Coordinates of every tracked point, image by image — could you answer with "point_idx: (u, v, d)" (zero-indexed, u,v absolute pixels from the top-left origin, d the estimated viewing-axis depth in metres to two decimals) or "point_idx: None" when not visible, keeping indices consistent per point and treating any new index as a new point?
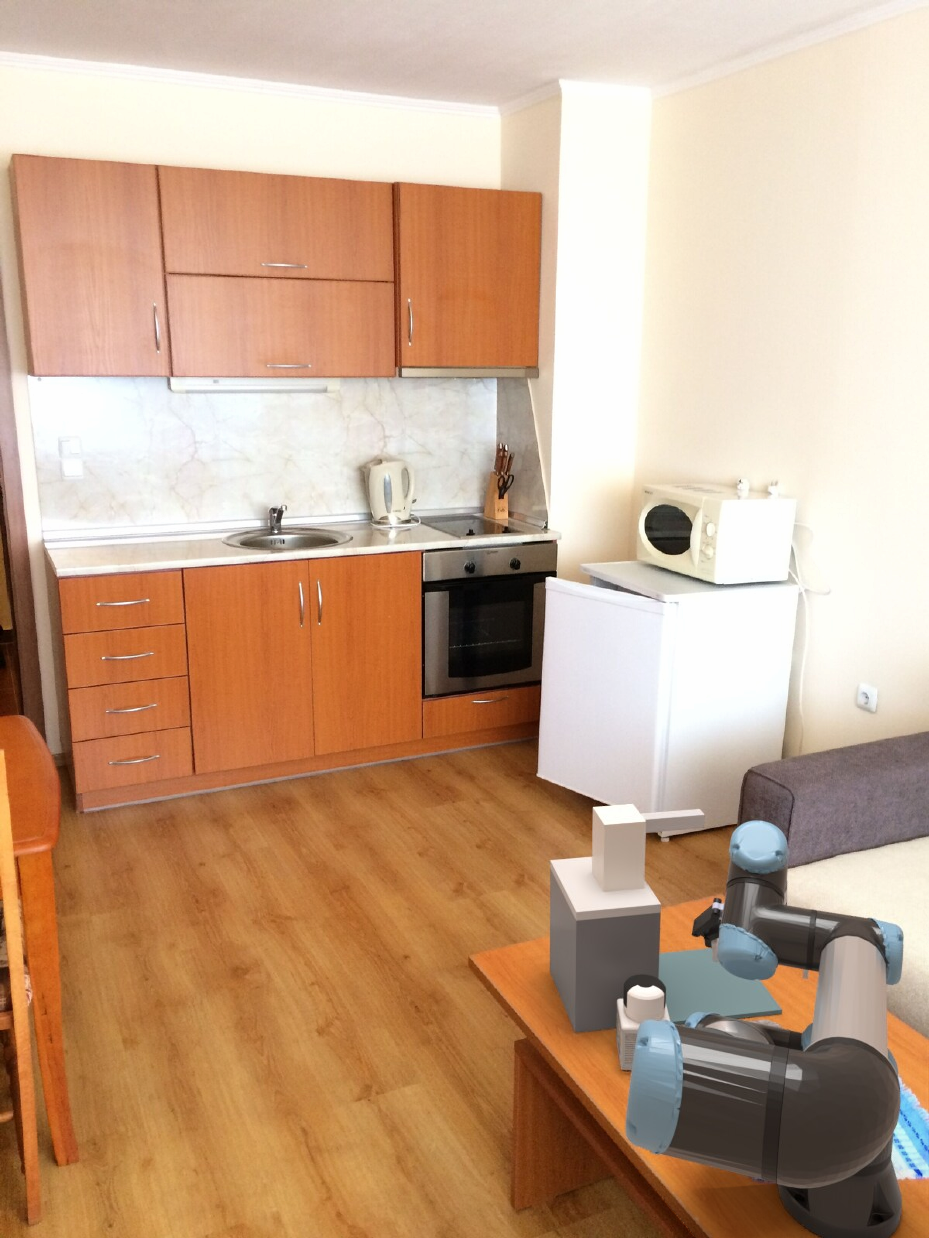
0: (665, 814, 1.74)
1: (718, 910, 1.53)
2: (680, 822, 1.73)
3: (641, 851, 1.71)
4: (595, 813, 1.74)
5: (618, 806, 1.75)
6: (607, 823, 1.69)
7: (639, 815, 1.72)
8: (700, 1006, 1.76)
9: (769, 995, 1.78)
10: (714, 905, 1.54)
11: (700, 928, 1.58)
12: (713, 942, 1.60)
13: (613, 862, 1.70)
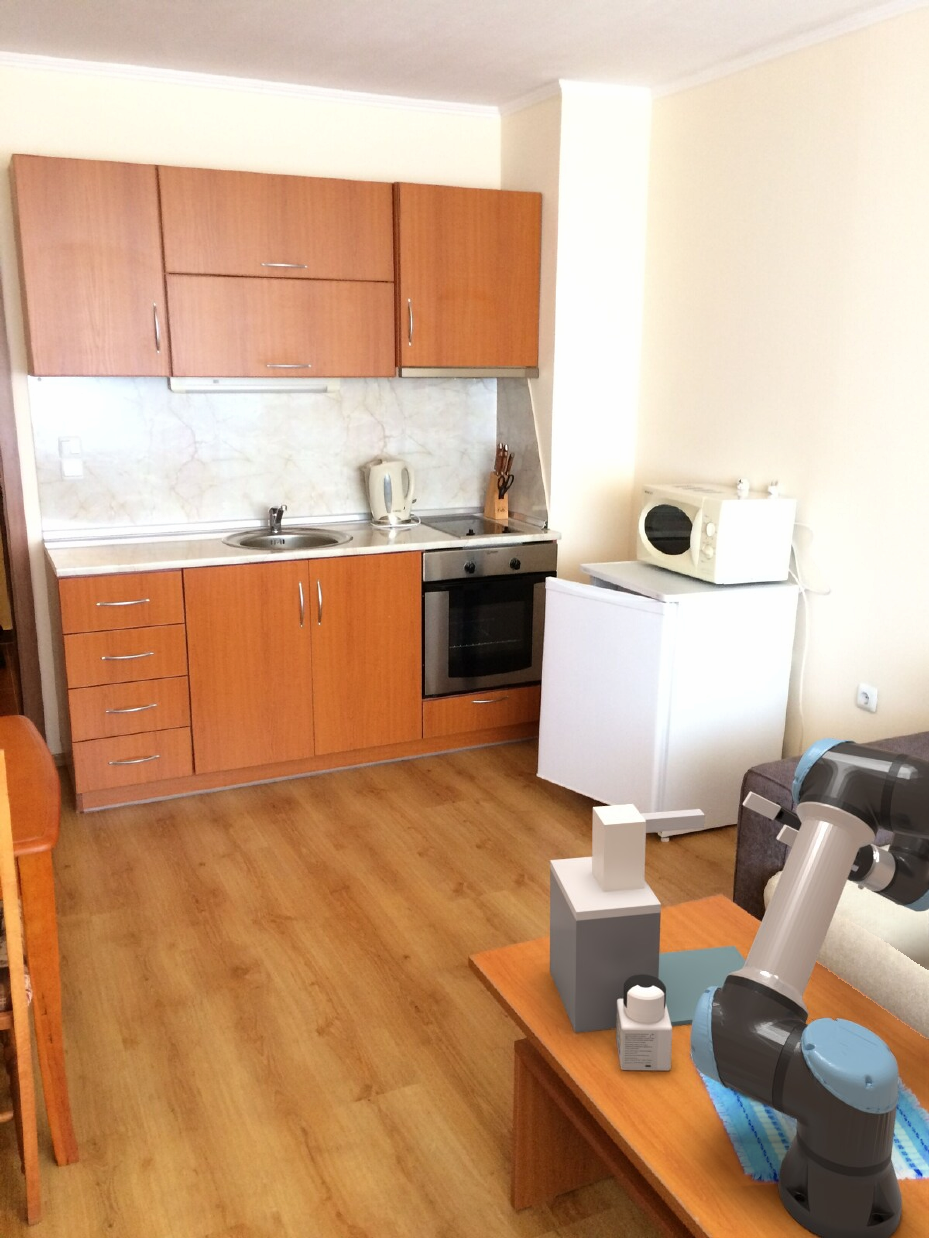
0: (665, 814, 1.74)
1: None
2: (680, 822, 1.73)
3: (641, 851, 1.71)
4: (595, 813, 1.74)
5: (618, 806, 1.75)
6: (607, 823, 1.69)
7: (639, 815, 1.72)
8: None
9: None
10: None
11: (792, 811, 1.87)
12: (780, 806, 1.84)
13: (613, 862, 1.70)
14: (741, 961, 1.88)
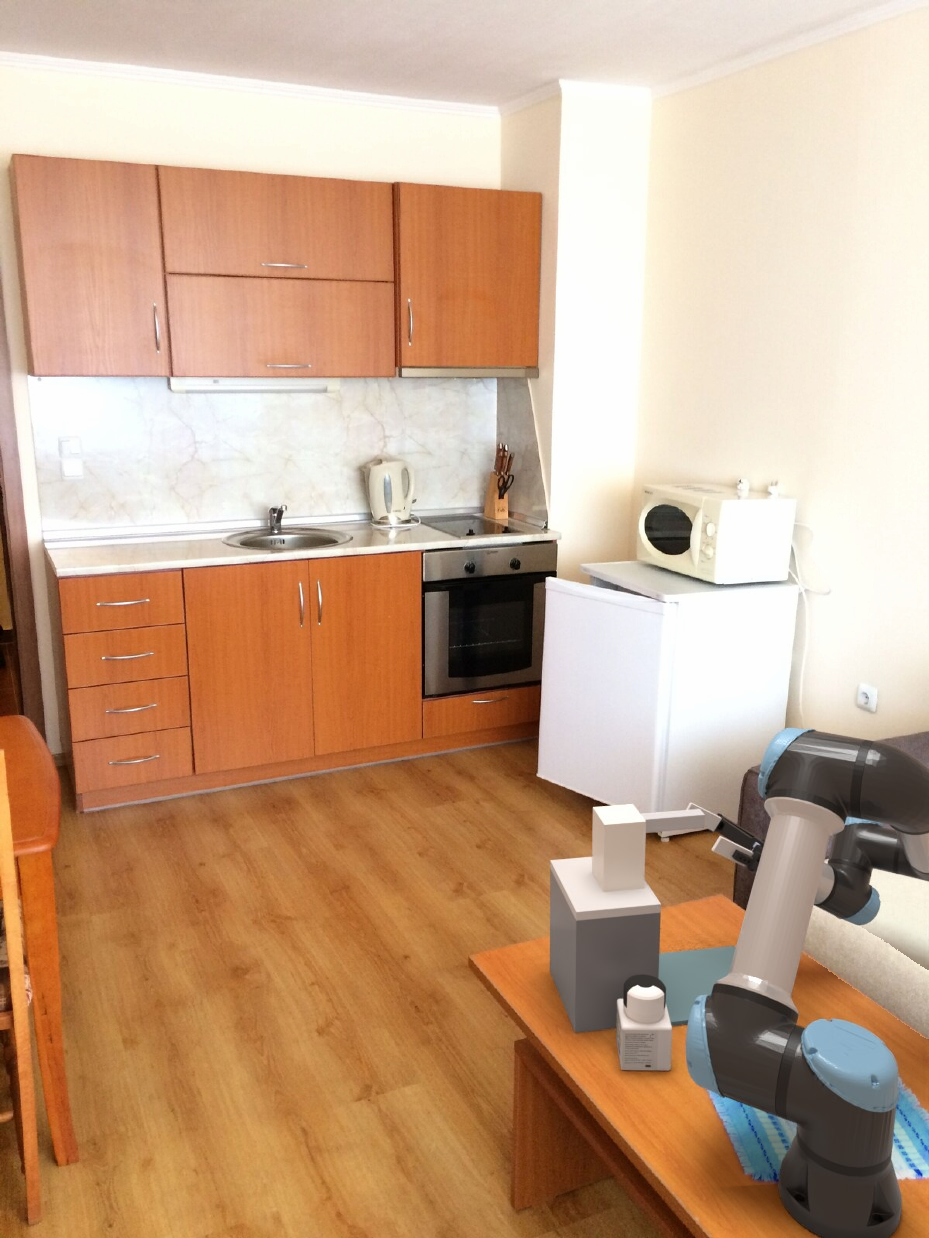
0: (665, 814, 1.74)
1: None
2: (680, 822, 1.73)
3: (641, 851, 1.71)
4: (595, 813, 1.74)
5: (618, 806, 1.75)
6: (607, 823, 1.69)
7: (639, 815, 1.72)
8: None
9: None
10: None
11: None
12: (720, 817, 1.84)
13: (613, 862, 1.70)
14: None
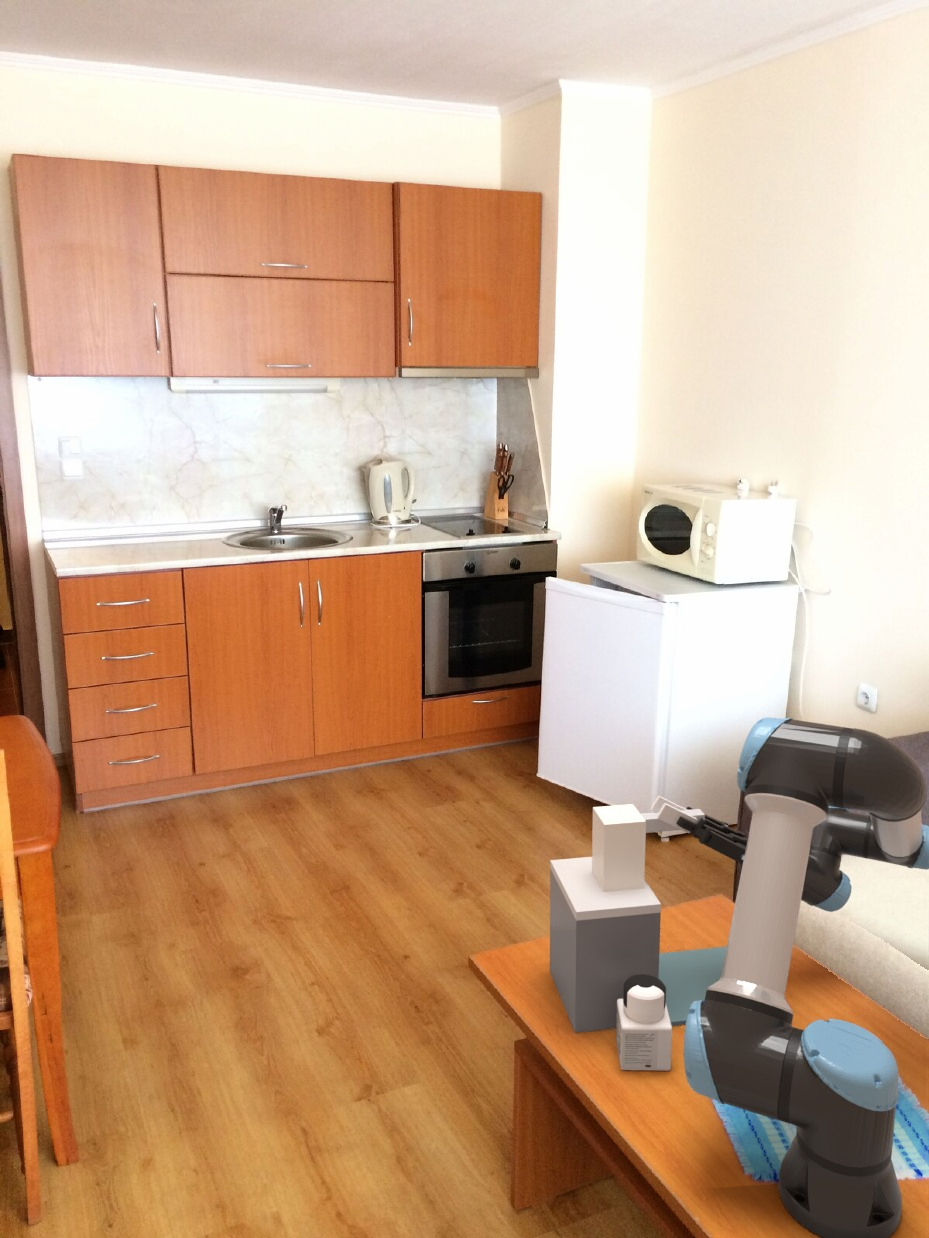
0: None
1: None
2: None
3: (641, 851, 1.71)
4: (595, 813, 1.74)
5: (618, 806, 1.75)
6: (607, 823, 1.69)
7: (639, 815, 1.72)
8: None
9: None
10: None
11: None
12: None
13: (613, 862, 1.70)
14: None
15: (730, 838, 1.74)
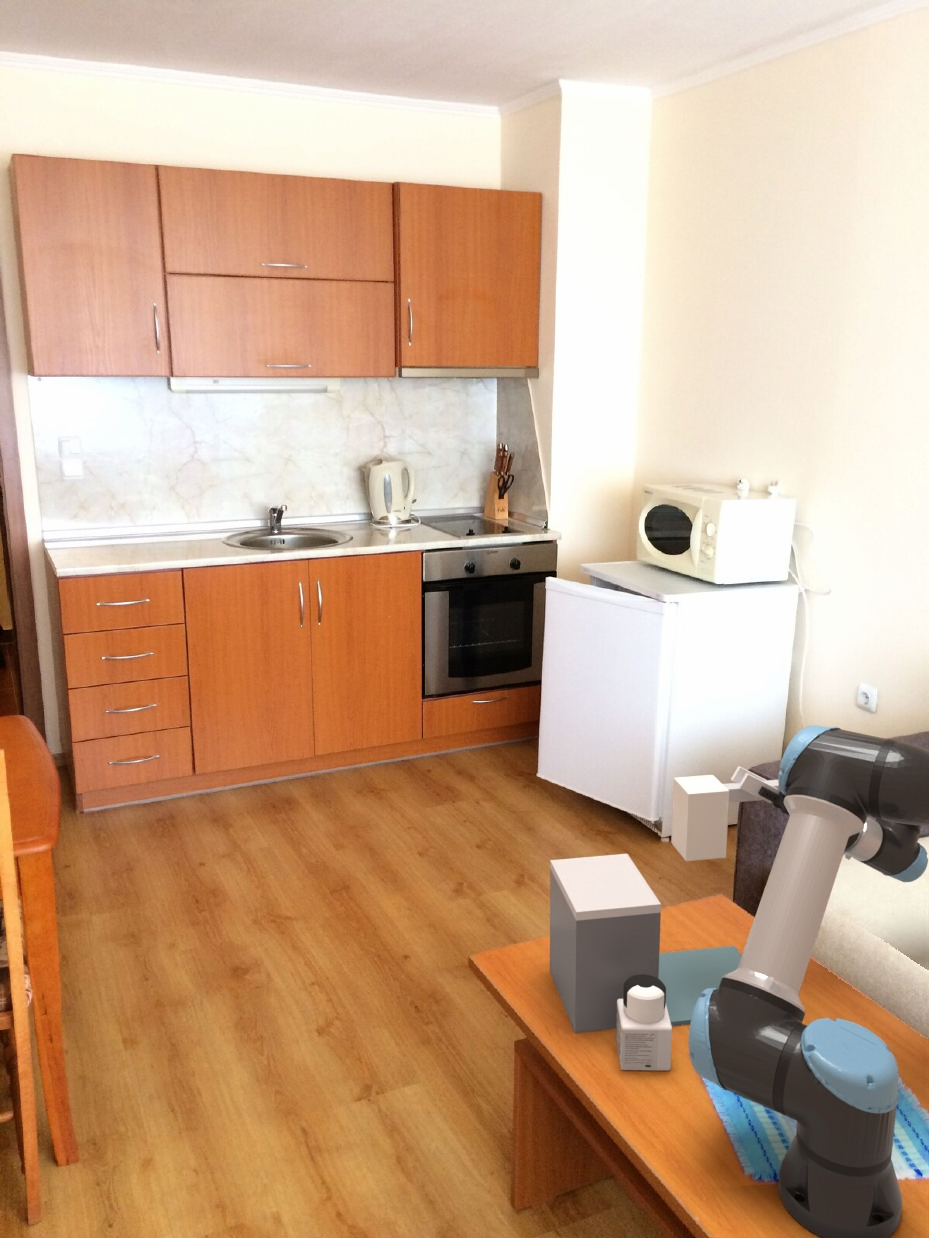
0: None
1: None
2: None
3: (724, 821, 1.72)
4: (676, 783, 1.75)
5: (699, 777, 1.77)
6: (691, 792, 1.70)
7: (721, 785, 1.73)
8: None
9: None
10: None
11: None
12: None
13: (696, 831, 1.72)
14: None
15: None
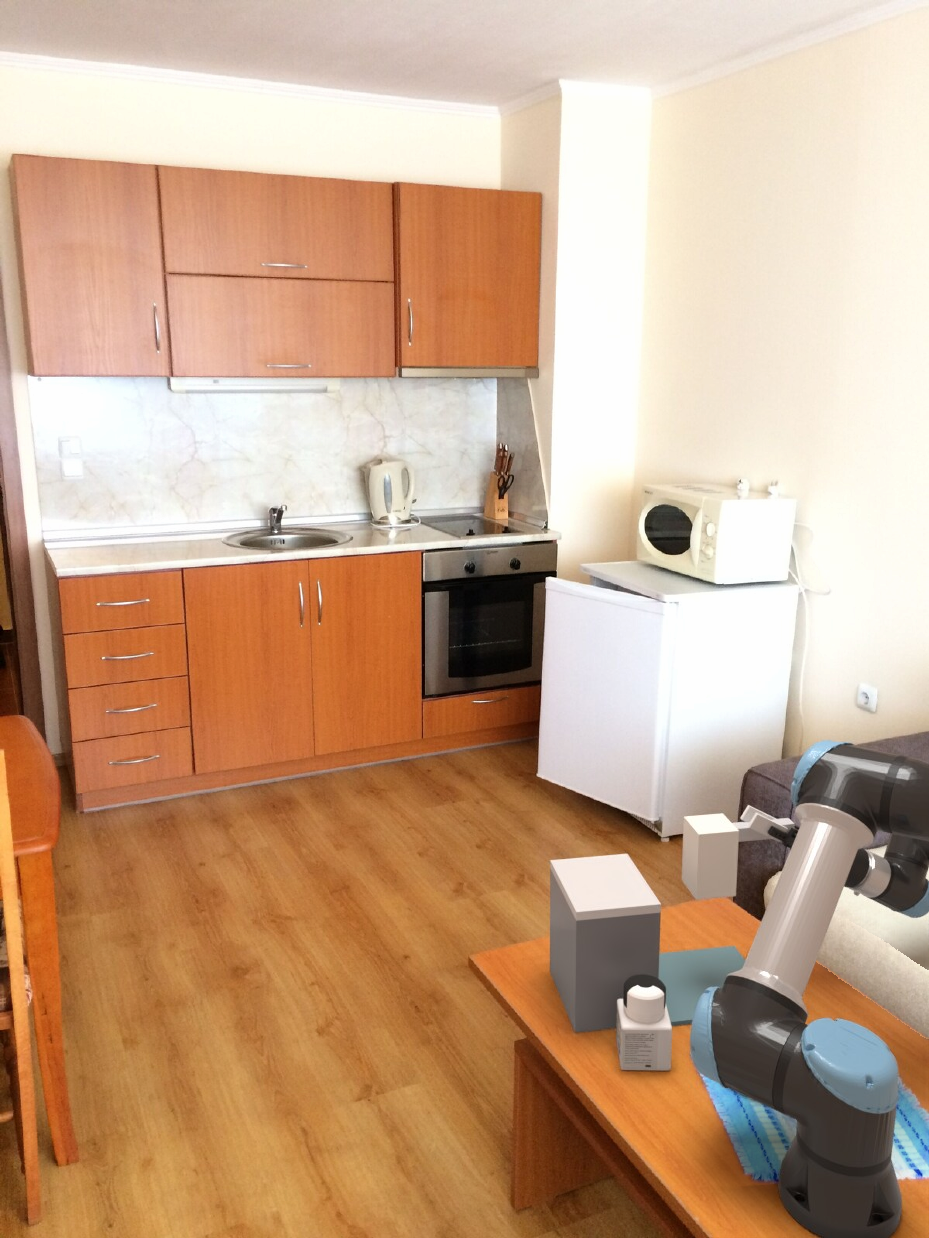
0: None
1: None
2: None
3: (734, 860, 1.74)
4: (687, 822, 1.77)
5: (708, 815, 1.79)
6: (701, 833, 1.72)
7: (731, 824, 1.75)
8: None
9: None
10: None
11: None
12: None
13: (706, 870, 1.74)
14: (741, 961, 1.88)
15: None
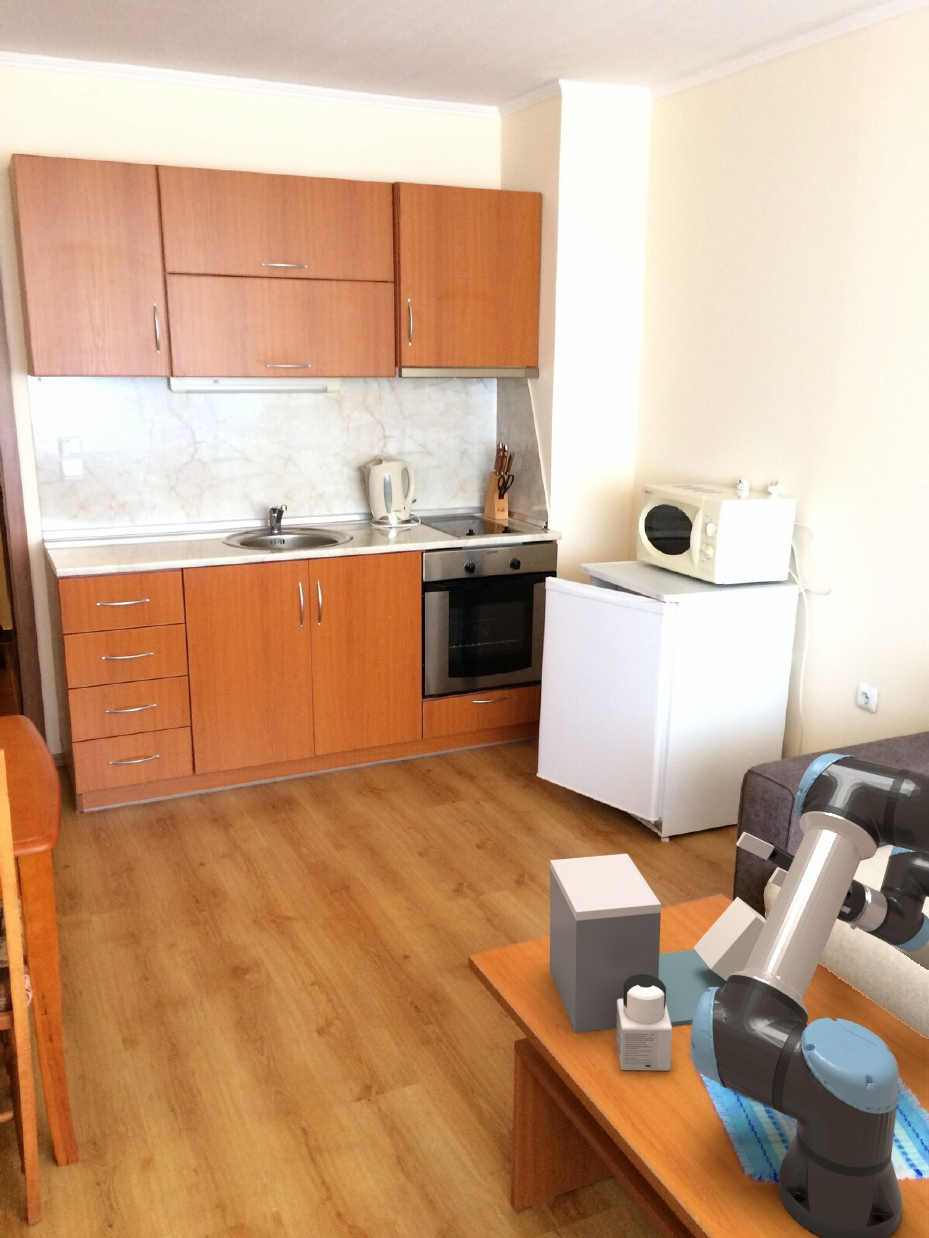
0: None
1: None
2: None
3: None
4: (740, 903, 1.83)
5: (754, 910, 1.85)
6: (757, 917, 1.78)
7: None
8: None
9: None
10: None
11: None
12: (773, 846, 1.86)
13: (736, 951, 1.78)
14: None
15: None
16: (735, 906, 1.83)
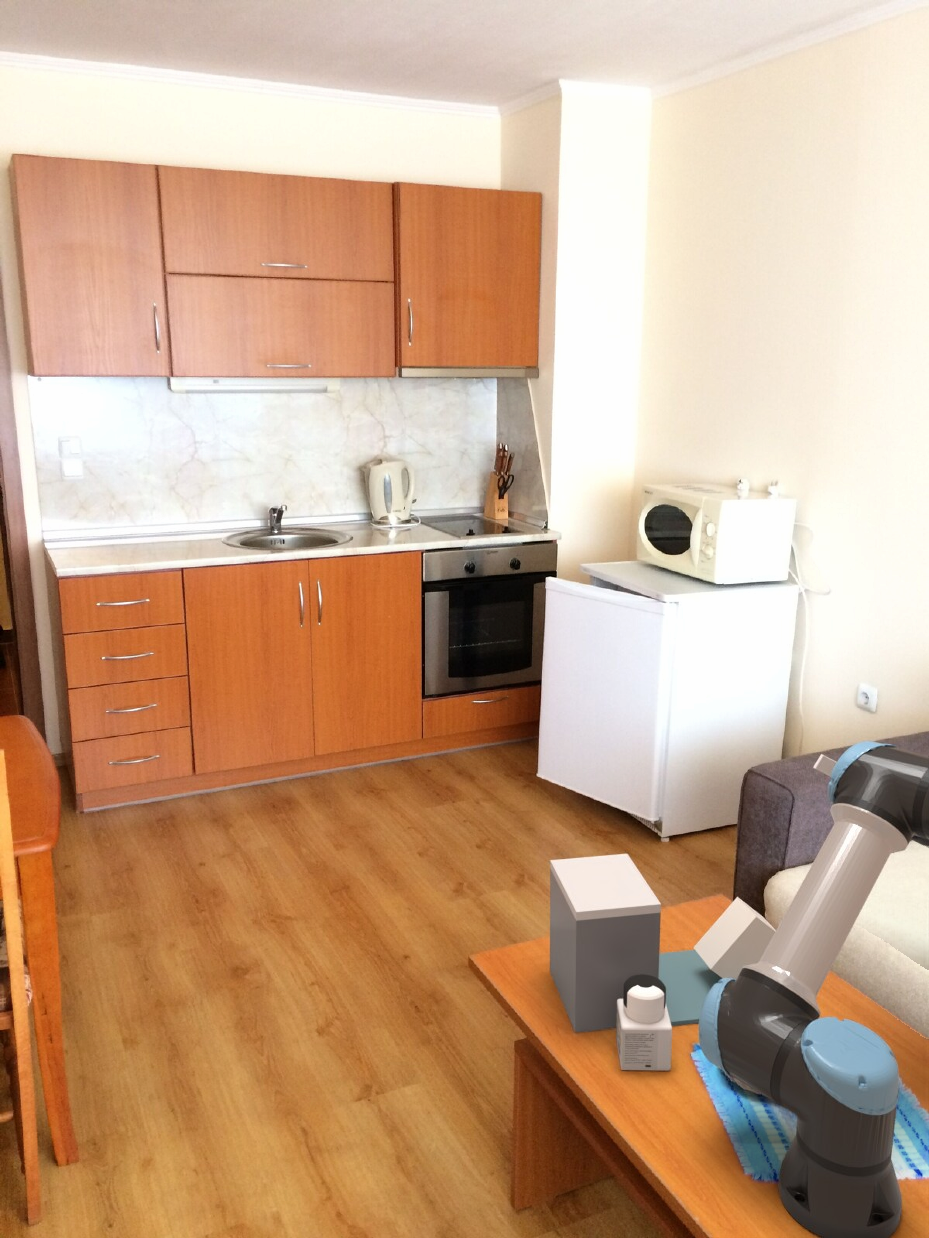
0: None
1: None
2: None
3: (760, 958, 1.80)
4: (740, 903, 1.83)
5: (754, 910, 1.85)
6: (757, 917, 1.78)
7: (774, 929, 1.82)
8: (700, 1006, 1.76)
9: None
10: None
11: None
12: None
13: (736, 951, 1.78)
14: None
15: None
16: (735, 906, 1.83)
